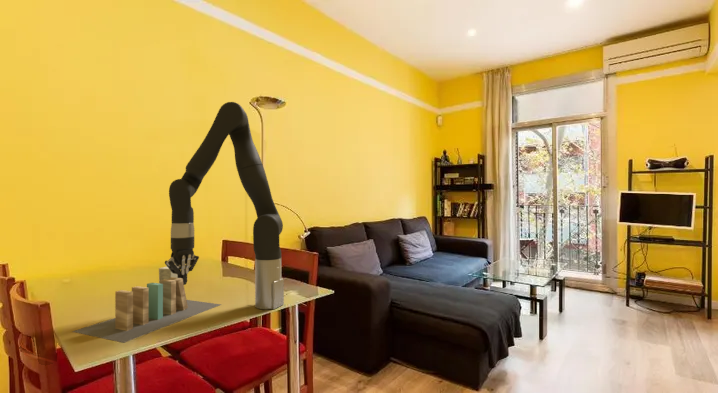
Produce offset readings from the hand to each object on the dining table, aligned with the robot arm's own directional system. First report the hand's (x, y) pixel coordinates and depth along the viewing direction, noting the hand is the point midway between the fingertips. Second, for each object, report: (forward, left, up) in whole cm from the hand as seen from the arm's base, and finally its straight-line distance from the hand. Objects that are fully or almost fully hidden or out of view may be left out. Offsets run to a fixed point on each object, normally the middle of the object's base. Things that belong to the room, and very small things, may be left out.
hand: (182, 284), depth 124 cm
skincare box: (+16, -8, -9) cm, 20 cm away
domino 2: (0, +16, -8) cm, 18 cm away
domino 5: (0, +1, -8) cm, 8 cm away
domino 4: (0, +6, -8) cm, 10 cm away
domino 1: (0, +21, -8) cm, 23 cm away
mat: (+1, +10, -9) cm, 13 cm away
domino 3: (0, +11, -8) cm, 14 cm away
